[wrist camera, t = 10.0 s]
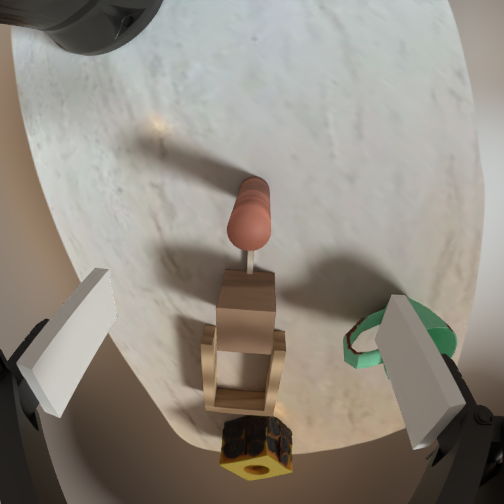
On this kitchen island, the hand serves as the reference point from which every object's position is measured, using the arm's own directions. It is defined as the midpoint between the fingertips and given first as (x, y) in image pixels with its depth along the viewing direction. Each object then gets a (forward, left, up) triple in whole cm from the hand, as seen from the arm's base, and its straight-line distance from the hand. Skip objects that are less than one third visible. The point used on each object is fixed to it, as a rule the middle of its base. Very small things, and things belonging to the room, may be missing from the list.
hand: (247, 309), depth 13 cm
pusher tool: (+7, 0, -22) cm, 23 cm away
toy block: (+45, +4, -22) cm, 50 cm away
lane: (+26, 0, -22) cm, 34 cm away
